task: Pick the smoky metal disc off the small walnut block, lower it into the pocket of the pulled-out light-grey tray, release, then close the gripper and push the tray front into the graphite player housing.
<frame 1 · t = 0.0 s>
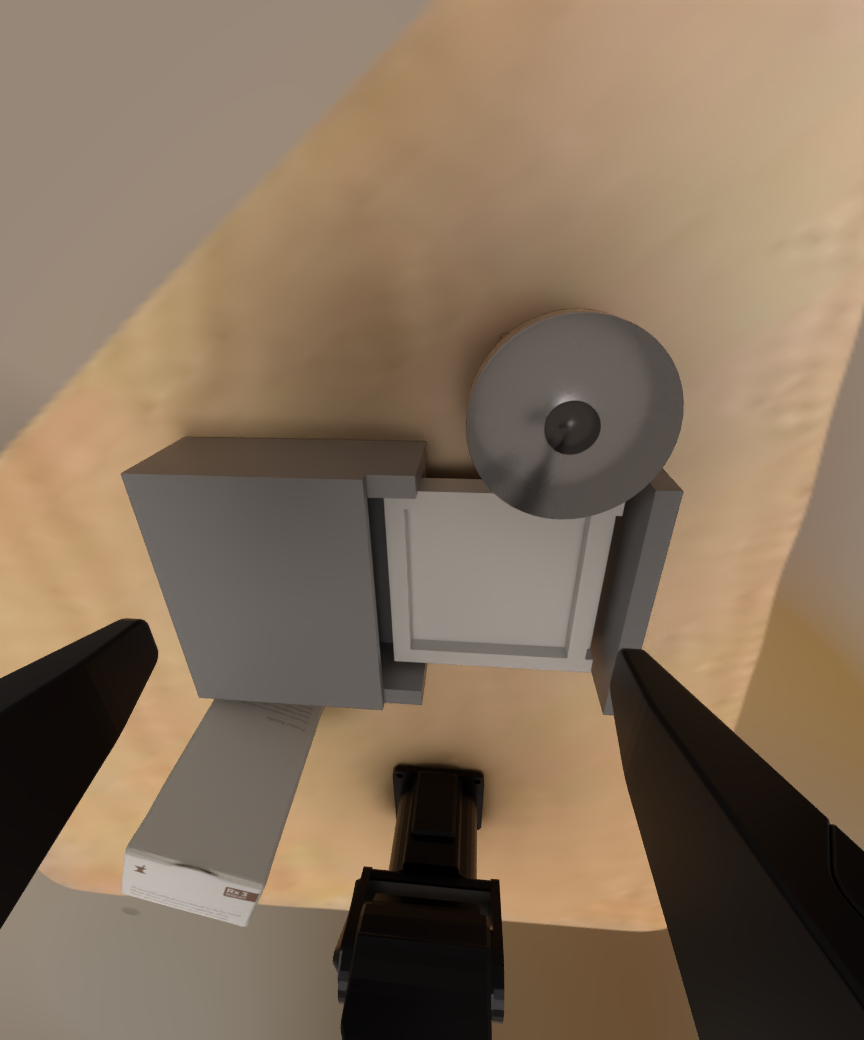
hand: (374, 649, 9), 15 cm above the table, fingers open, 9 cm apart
housing: (319, 552, 26), on the table
disc: (564, 413, 17), point 4 cm above the table, touching walnut block
skincare box: (287, 677, 31), on the table
tray: (513, 586, 23), point 2 cm above the table, slide at 9.0 cm
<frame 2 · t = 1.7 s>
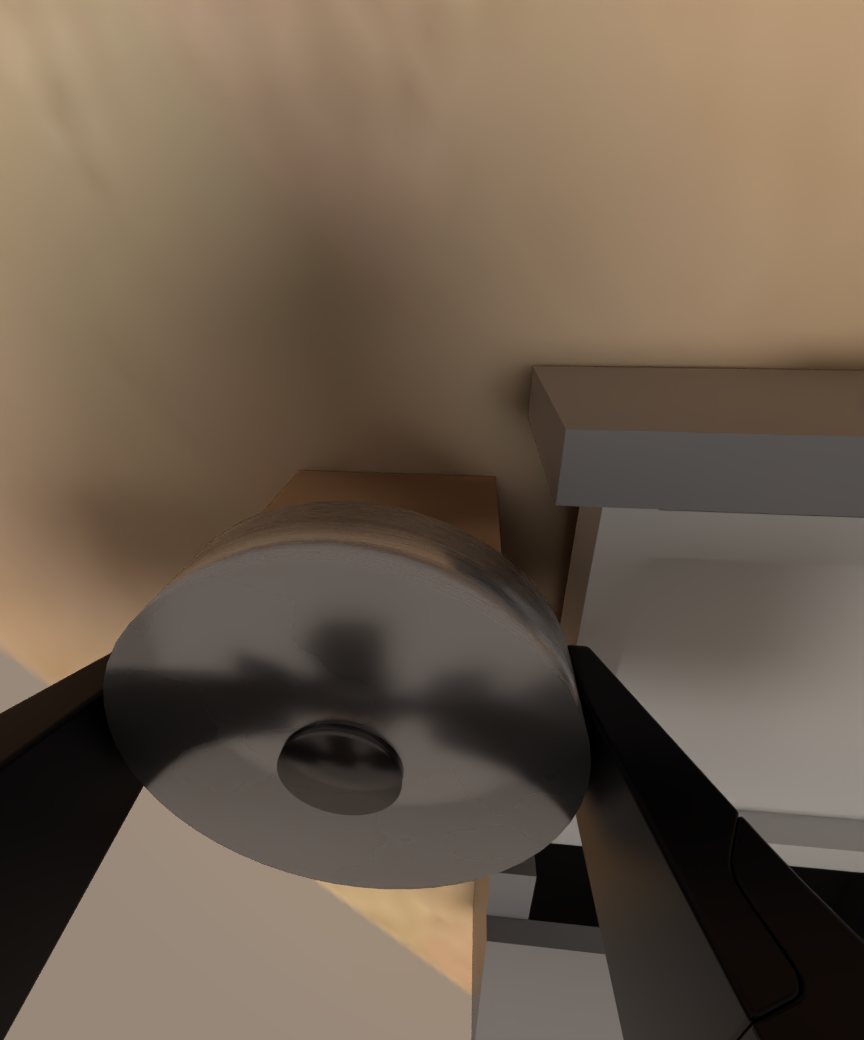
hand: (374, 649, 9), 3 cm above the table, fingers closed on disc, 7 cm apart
housing: (665, 845, 16), on the table
disc: (365, 680, 8), point 4 cm above the table, touching gripper, walnut block
tray: (824, 684, 10), point 2 cm above the table, slide at 9.0 cm
walnut block: (399, 556, 12), on the table
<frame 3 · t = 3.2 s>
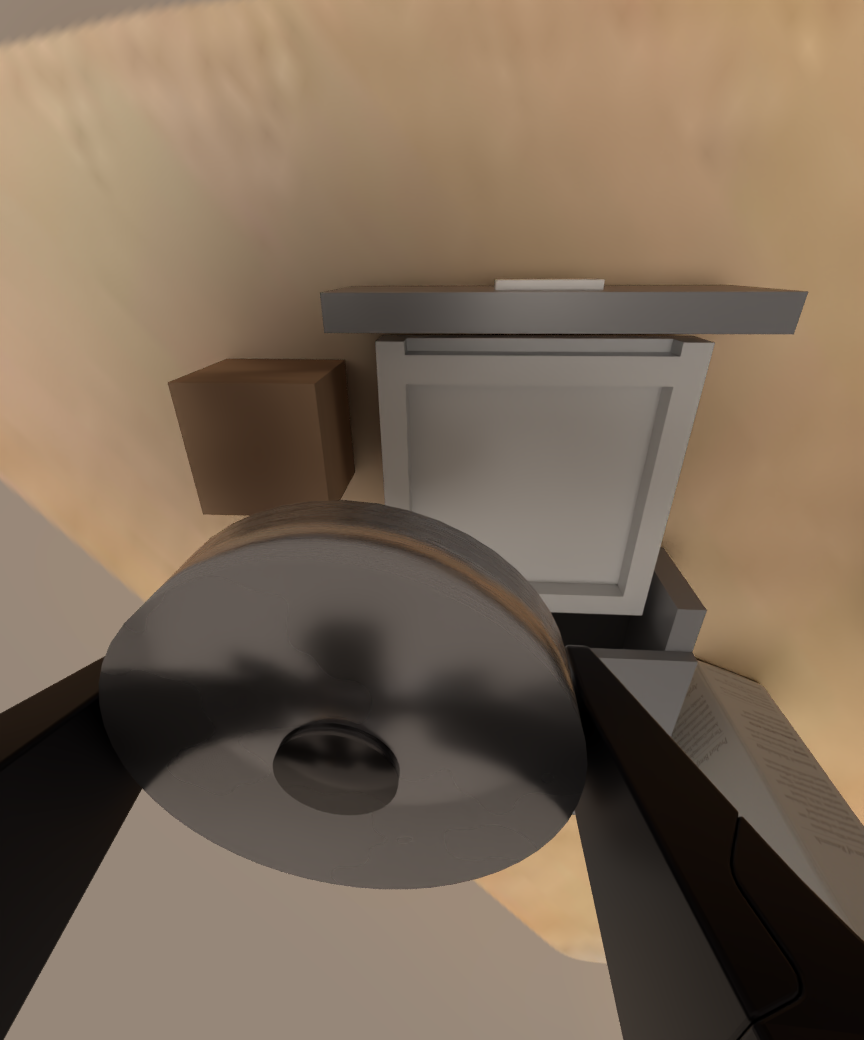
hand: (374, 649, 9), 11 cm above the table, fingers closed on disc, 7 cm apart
housing: (503, 645, 24), on the table
disc: (362, 680, 8), point 12 cm above the table, touching gripper
skincare box: (688, 699, 25), on the table
tray: (527, 471, 17), point 2 cm above the table, slide at 9.0 cm
walnut block: (294, 418, 19), on the table
when the fingers open (3 cm above the table, at t = 5.0 s): disc drops 2 cm, resting on tray.
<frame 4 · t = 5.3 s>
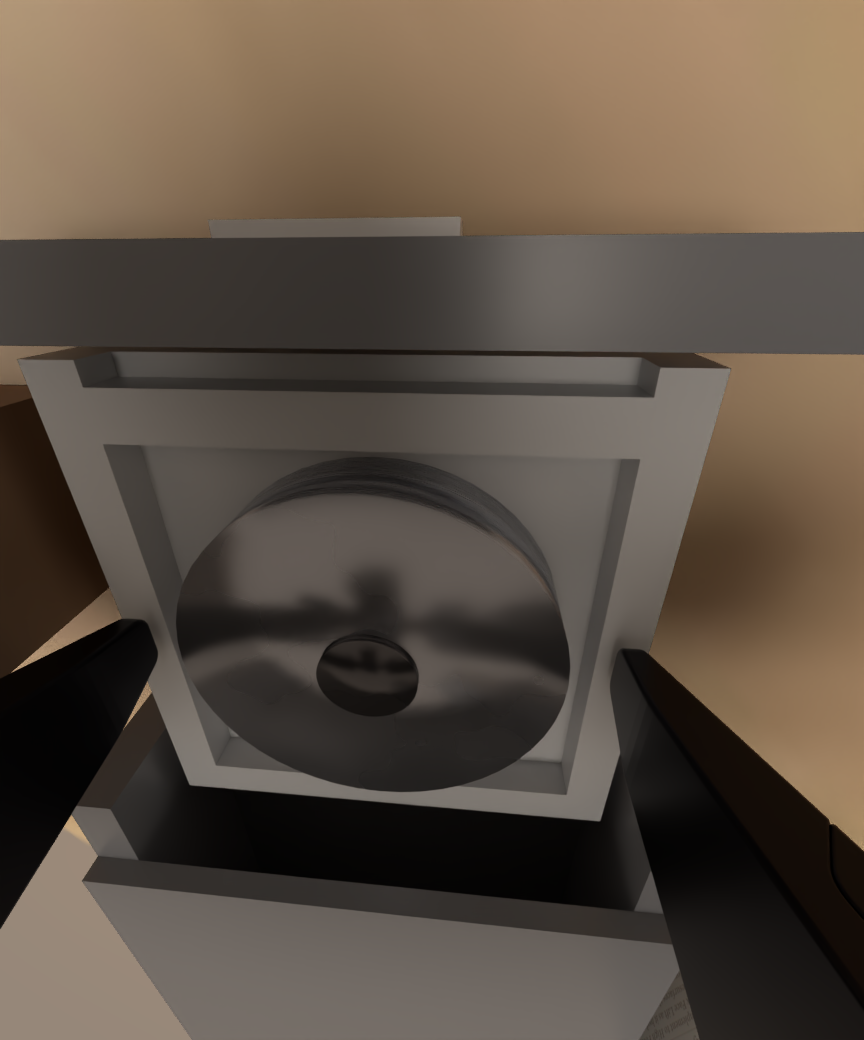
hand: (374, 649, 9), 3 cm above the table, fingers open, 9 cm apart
housing: (407, 802, 16), on the table
disc: (384, 614, 10), point 2 cm above the table, touching tray
skincare box: (685, 877, 17), on the table
tray: (375, 597, 9), point 2 cm above the table, slide at 9.0 cm, touching disc
walnut block: (17, 480, 11), on the table
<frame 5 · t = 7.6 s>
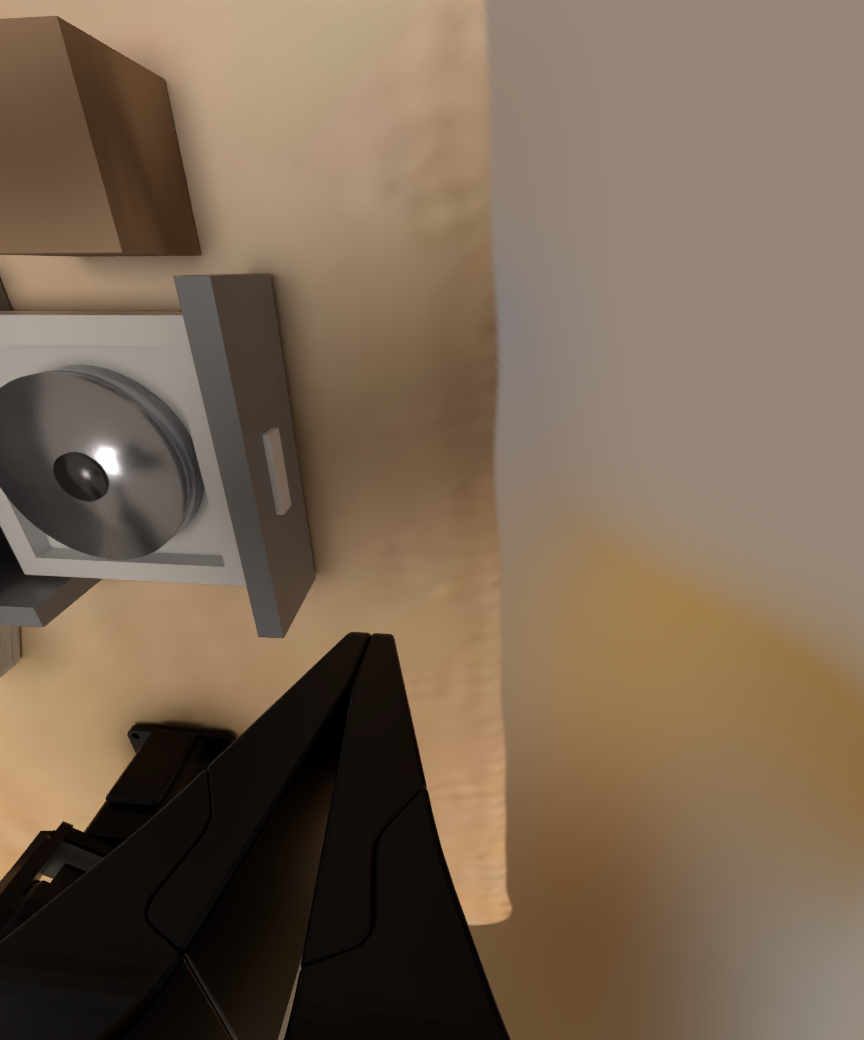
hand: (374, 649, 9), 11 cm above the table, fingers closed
disc: (114, 459, 18), point 2 cm above the table, touching tray
tray: (125, 464, 17), point 2 cm above the table, slide at 9.0 cm, touching disc
walnut block: (117, 175, 15), on the table
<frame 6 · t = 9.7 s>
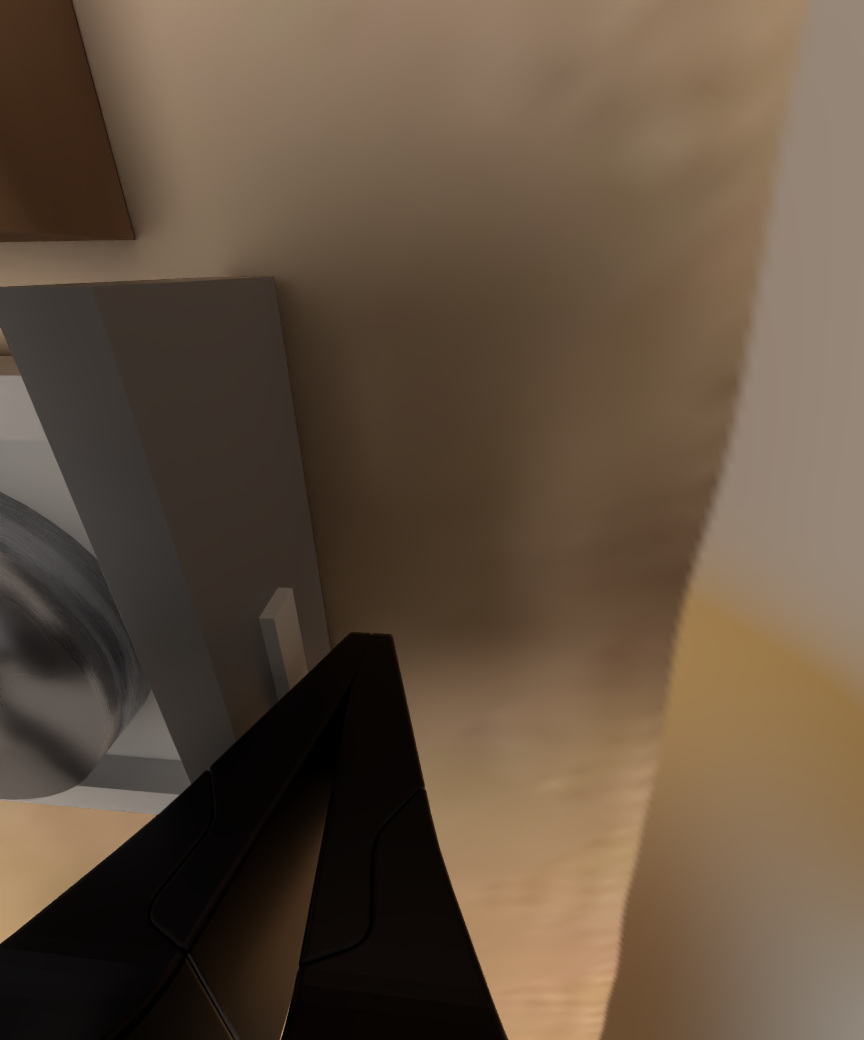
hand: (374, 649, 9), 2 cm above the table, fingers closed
tray: (1, 638, 9), point 2 cm above the table, slide at 8.9 cm, touching disc, gripper
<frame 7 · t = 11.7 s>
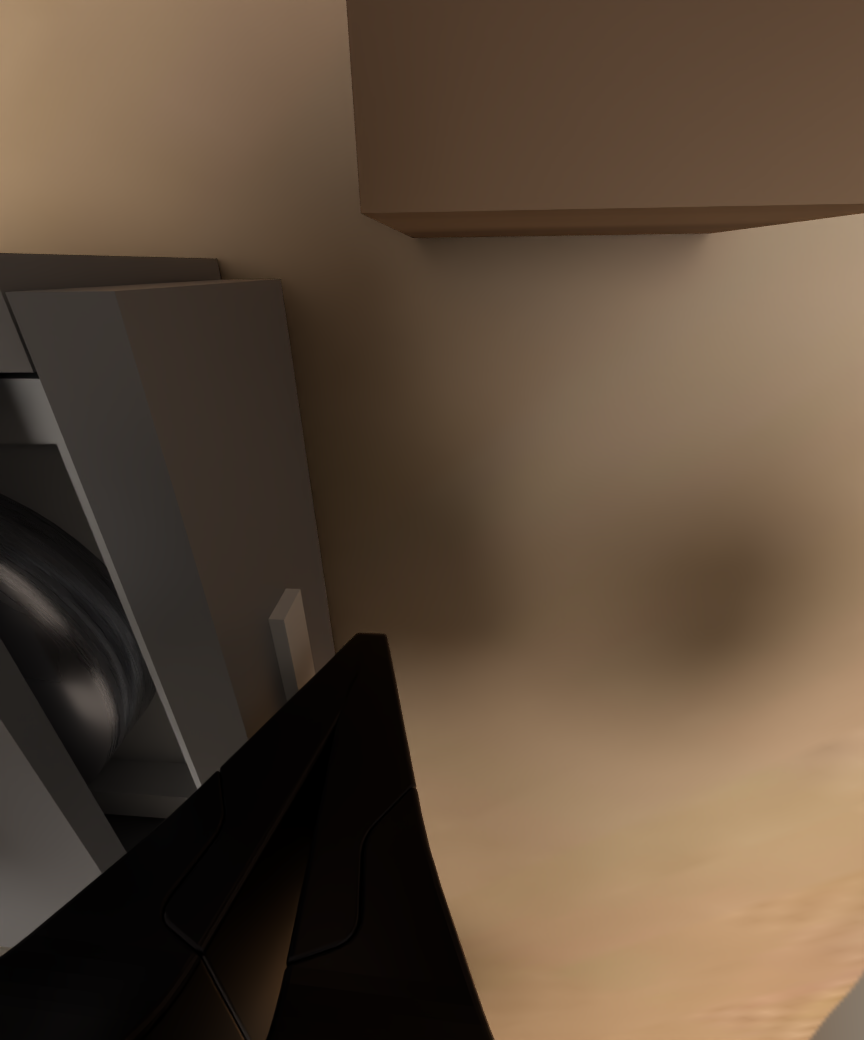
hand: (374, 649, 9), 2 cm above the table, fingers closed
housing: (36, 573, 11), on the table
tray: (4, 643, 9), point 2 cm above the table, slide at -0.1 cm, touching disc, gripper
walnut block: (579, 35, 6), on the table
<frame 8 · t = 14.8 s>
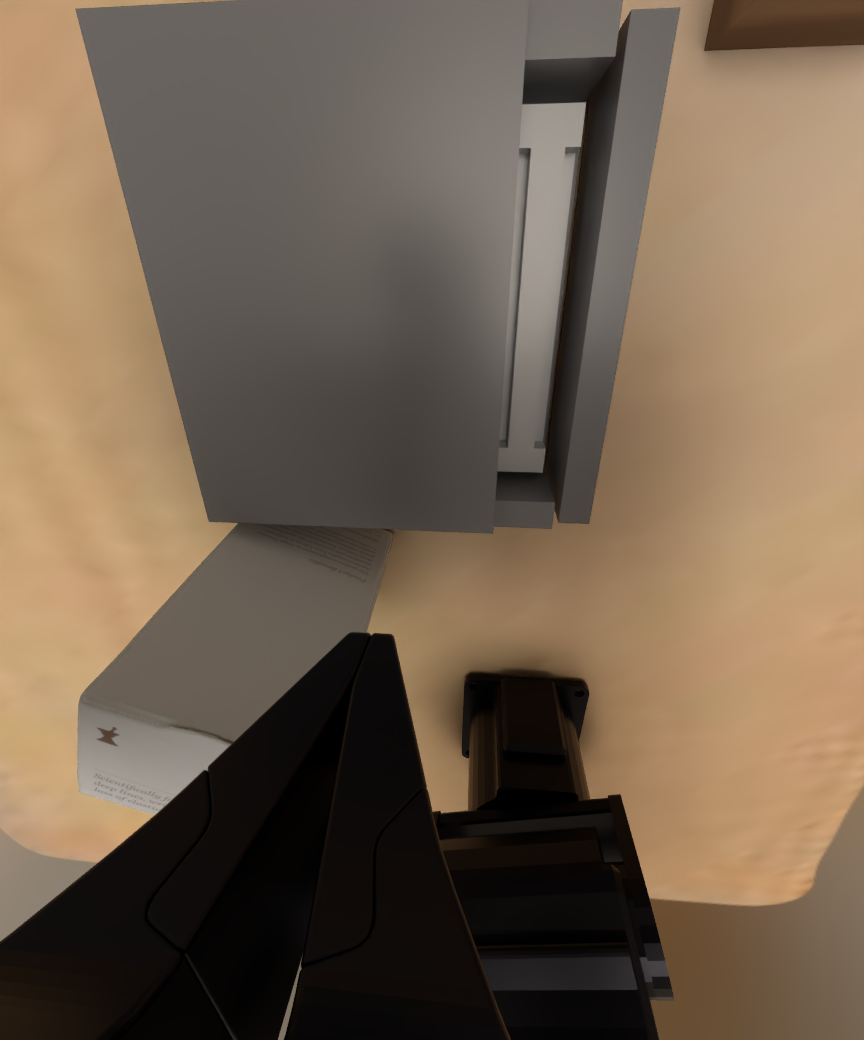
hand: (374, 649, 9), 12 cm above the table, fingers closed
housing: (390, 310, 17), on the table
skincare box: (328, 539, 22), on the table
tray: (421, 316, 15), point 2 cm above the table, slide at 0.0 cm, touching disc
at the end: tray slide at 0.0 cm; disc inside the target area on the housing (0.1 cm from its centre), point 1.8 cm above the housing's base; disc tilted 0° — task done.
